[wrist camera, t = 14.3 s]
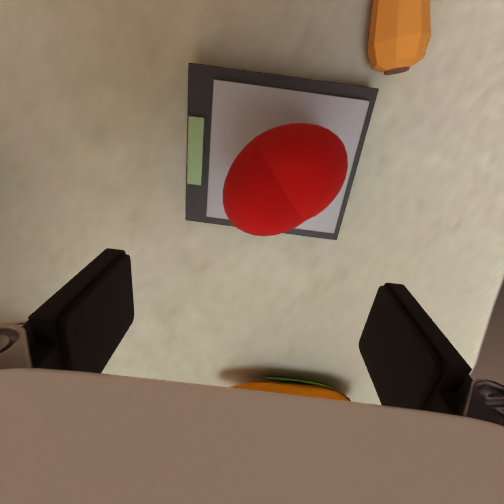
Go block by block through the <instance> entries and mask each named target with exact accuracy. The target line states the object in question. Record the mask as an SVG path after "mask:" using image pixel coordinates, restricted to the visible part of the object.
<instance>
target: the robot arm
mask: <svg viewBox="0 0 504 504" xmlns="http://www.w3.org/2000/svg"><path fill="white" fill-rule="evenodd" d="M28 319H29V320H28V321H27V322H26V323H25V324H22V325H16V324H0V504H504V386H503V385H501V384H499V383H496V382H494V381H490V380H487V379H476V380H472V378H471V377H470V376H469V373H470V372H471V370H472V369H471V368H470V366H469V365H468V364H467V363H466V361H465V360H464V359H463V358H462V356H461V355H460V354H459V353H458V351H457V350H456V349H455V348H454V347H453V345H452V344H451V343H450V342H449V340H448V339H447V338H446V337H445V335H444V334H443V333H442V332H441V330H440V329H439V328H438V327H437V325H436V324H435V323H434V322H433V321H432V319H431V318H430V317H429V316H428V314H427V313H426V312H425V311H424V309H423V308H422V307H421V306H420V304H419V303H418V302H417V301H416V299H415V298H414V297H413V296H412V295H411V293H410V292H409V291H408V290H407V288H406V287H405V286H404V285H402V284H394V283H385V285H384V286H380V287H379V289H378V291H377V294H376V297H375V300H374V302H373V305H372V308H371V311H370V313H369V316H368V319H367V321H366V324H365V327H364V330H363V332H362V335H361V338H360V341H359V349H360V352H361V355H362V357H363V360H364V362H365V365H366V367H367V370H368V372H369V374H370V377H371V379H372V382H373V384H374V387H375V389H376V392H377V394H378V397H379V399H380V402H381V404H382V405H374V404H366V403H358V402H349V401H341V400H333V399H324V398H316V397H308V396H299V395H291V394H282V393H273V392H265V391H256V390H247V389H238V388H229V387H220V386H212V385H203V384H193V383H184V382H175V381H166V380H156V379H147V378H138V377H129V376H119V375H110V374H101V372H102V371H103V369H104V367H105V366H106V364H107V362H108V361H109V359H110V358H111V356H112V354H113V353H114V351H115V350H116V348H117V346H118V345H119V343H120V342H121V340H122V338H123V337H124V335H125V333H126V332H127V330H128V329H129V327H130V325H131V324H132V322H133V319H134V303H133V289H132V275H131V261H130V256H129V255H126V253H125V251H124V250H117V249H109V248H107V249H105V250H104V251H103V252H102V253H101V254H100V255H99V256H97V257H96V258H95V259H94V260H93V261H92V262H91V263H89V264H88V265H87V266H86V267H85V268H84V269H83V270H81V271H80V272H79V273H78V274H77V275H76V276H75V277H73V278H72V279H71V280H70V281H69V282H68V283H67V284H65V285H64V286H63V287H62V288H61V289H60V290H59V291H57V292H56V293H55V294H54V295H53V296H52V297H51V298H49V299H48V300H47V301H46V302H45V303H44V304H43V305H41V306H40V307H39V308H38V309H37V310H36V311H35V312H33V313H32V314H31V315H30V316H29V317H28Z"/></svg>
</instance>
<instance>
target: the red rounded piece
mask: <svg viewBox="0 0 504 504" xmlns="http://www.w3.org/2000/svg"><path fill="white" fill-rule="evenodd" d="M347 169H348V155H347V152H346V149H345V146H344V144H343V142H342V141H341V140H340V138H339V137H338V136H337V135H336V134H334V133H333V132H332V131H330V130H329V129H327V128H324V127H322V126H319V125H315V124H309V123H291V124H286V125H281V126H278V127H275V128H272V129H270V130H267V131H265V132H263V133H262V134H260V135H258V136H256V137H255V138H254V139H253V140H252V141H250V142H249V143H248V144H247V145H246V146H245V147H244V148H243V149H242V151H241V152H240V153H239V154H238V155H237V157H236V158H235V160H234V162H233V163H232V165H231V167H230V169H229V171H228V174H227V176H226V178H225V182H224V187H223V206H224V210H225V213H226V215H227V217H228V219H229V220H230V222H231V223H232V224H233V225H234V226H235V227H237V228H238V229H240V230H242V231H244V232H246V233H249V234H252V235H258V236H270V235H277V234H280V233H284V232H287V231H289V230H291V229H293V228H296V227H297V226H299V225H300V224H302V223H303V222H305V221H306V220H308V219H310V218H312V217H314V216H316V215H318V214H319V213H320V212H322V211H323V210H324V209H326V208H327V207H328V206H329V204H330V203H331V202H332V201H333V200H334V199H335V198H336V196H337V195H338V193H339V192H340V190H341V188H342V186H343V184H344V181H345V179H346V174H347Z"/></svg>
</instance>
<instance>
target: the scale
mask: <svg viewBox="0 0 504 504" xmlns="http://www.w3.org/2000/svg"><path fill="white" fill-rule="evenodd" d="M378 90H379V89H377V88H369V87H362V86H355V85H348V84H340V83H333V82H326V81H319V80H311V79H304V78H297V77H289V76H282V75H275V74H268V73H260V72H253V71H246V70H239V69H231V68H224V67H217V66H209V65H202V64H195V63H189V68H188V119H187V169H186V220H189V221H197V222H204V223H212V224H219V225H227V226H234V225H233V224H232V223H231V222H230V220H229V219H228V217H227V215H226V213H225V210H224V206H223V187H224V182H225V178H226V176H227V174H228V171H229V169H230V167H231V165H232V163H233V162H234V160H235V158H236V157H237V155H238V154H239V153H240V152H241V151H242V149H243V148H244V147H245V146H246V145H247V144H248V143H249V142H250V141H252V140H253V139H254V138H255V137H256V136H258V135H260V134H262V133H263V132H265V131H267V130H270V129H272V128H275V127H278V126H281V125H286V124H291V123H309V124H315V125H319V126H322V127H324V128H327V129H329V130H330V131H332V132H333V133H334V134H336V135H337V136H338V137H339V138H340V140H341V141H342V142H343V144H344V146H345V149H346V152H347V155H348V169H347V174H346V179H345V181H344V184H343V186H342V188H341V190H340V192H339V193H338V195H337V196H336V198H335V199H334V200H333V201H332V202H331V203H330V204H329V206H328V207H327V208H326V209H324V210H323V211H322V212H320V213H319V214H318V215H316V216H314V217H312V218H310V219H308V220H306V221H305V222H303V223H302V224H300V225H299V226H297V227H296V228H293V229H291V230H289V231H287V232H284V233H287V234H294V235H302V236H309V237H317V238H324V239H332V240H337V237H338V233H339V230H340V226H341V223H342V219H343V215H344V212H345V208H346V205H347V201H348V198H349V194H350V190H351V187H352V183H353V180H354V176H355V172H356V169H357V165H358V162H359V158H360V154H361V151H362V147H363V144H364V140H365V136H366V133H367V129H368V126H369V122H370V118H371V115H372V111H373V108H374V104H375V100H376V97H377V93H378ZM234 227H235V226H234Z"/></svg>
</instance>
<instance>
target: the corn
mask: <svg viewBox="0 0 504 504" xmlns="http://www.w3.org/2000/svg"><path fill="white" fill-rule="evenodd" d="M265 378H267V379H270V380H282V381H288V382H294V383H286V382H251V383H246V384H242V385H237V386H233V387H229V388H238V389H247V390H256V391H265V392H273V393H282V394H291V395H299V396H308V397H316V398H324V399H333V400H341V401H349V402H351V401H350V399H349V398H348V397H346V396H345V395H344V394H343V393H341V392H339V391H337V390H335V389H334V388H332V387H330V386H327V385H323V384H319V383H315V382H311V381H304V380H297V379H290V378H273V377H265ZM297 383H300V384H297Z"/></svg>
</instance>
